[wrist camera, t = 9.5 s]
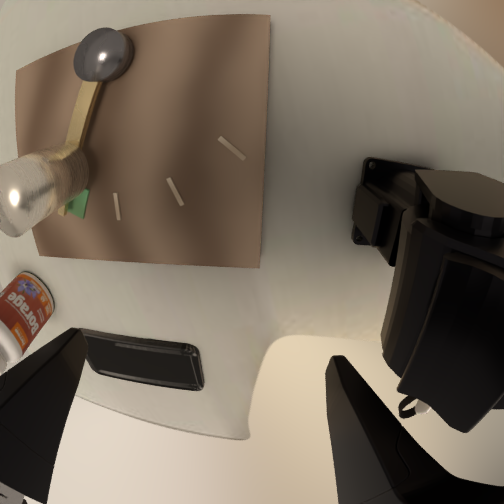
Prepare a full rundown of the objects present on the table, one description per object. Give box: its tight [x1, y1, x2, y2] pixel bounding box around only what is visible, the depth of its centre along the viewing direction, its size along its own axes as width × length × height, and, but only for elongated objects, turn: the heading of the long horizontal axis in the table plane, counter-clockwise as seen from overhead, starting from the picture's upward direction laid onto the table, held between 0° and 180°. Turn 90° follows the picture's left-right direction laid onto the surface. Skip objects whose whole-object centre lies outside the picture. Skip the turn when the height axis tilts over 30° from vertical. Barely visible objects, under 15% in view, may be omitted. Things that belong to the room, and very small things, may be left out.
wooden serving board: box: [15, 14, 270, 268], centre depth 16 cm, size 20×17×2 cm
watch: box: [398, 395, 431, 419], centre depth 31 cm, size 8×5×4 cm, turn 146°
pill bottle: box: [0, 272, 54, 376], centre depth 19 cm, size 6×6×11 cm
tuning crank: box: [0, 28, 133, 237], centre depth 11 cm, size 13×4×7 cm, turn 155°
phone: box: [79, 328, 204, 391], centre depth 28 cm, size 8×1×15 cm
